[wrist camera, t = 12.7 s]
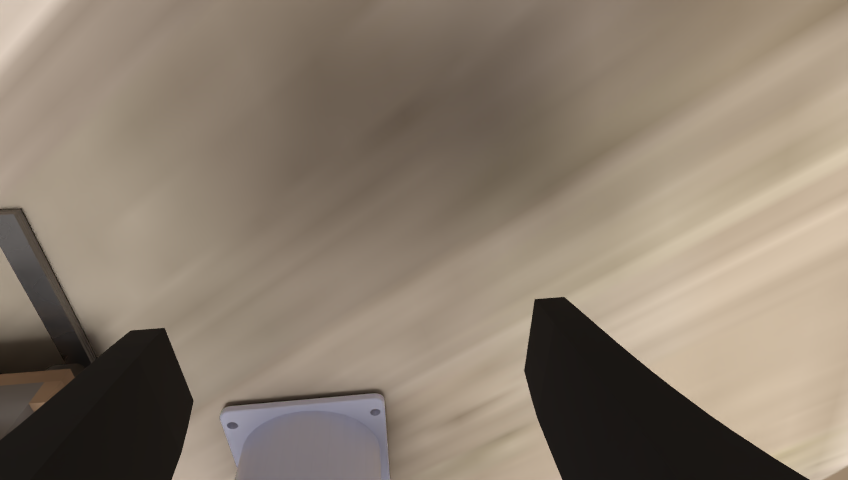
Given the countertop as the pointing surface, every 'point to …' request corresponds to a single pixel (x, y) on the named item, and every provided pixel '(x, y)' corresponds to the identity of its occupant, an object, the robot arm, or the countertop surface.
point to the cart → (30, 392)
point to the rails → (43, 288)
